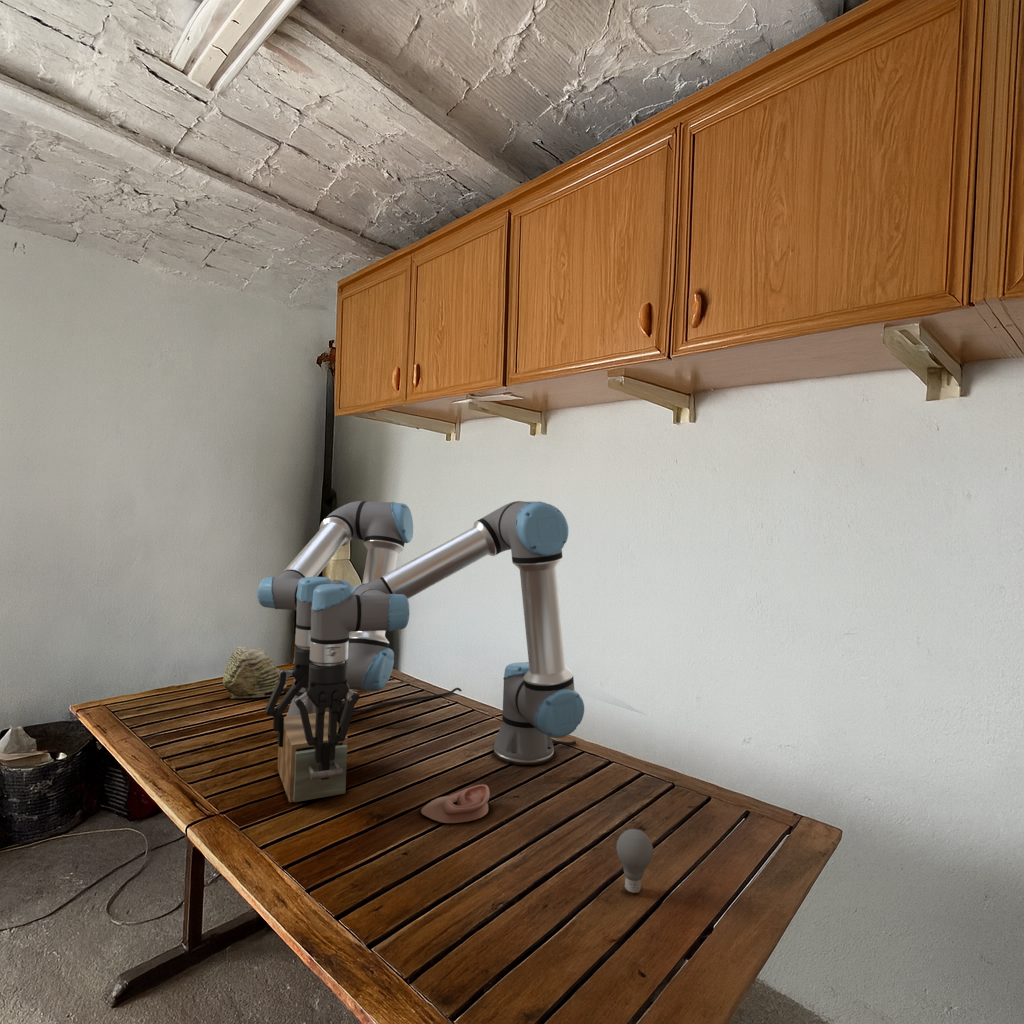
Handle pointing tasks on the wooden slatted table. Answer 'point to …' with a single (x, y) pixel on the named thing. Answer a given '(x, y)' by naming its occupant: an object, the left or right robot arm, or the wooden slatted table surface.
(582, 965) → the wooden slatted table surface
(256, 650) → the fossil
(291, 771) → the cabinet
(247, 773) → the wooden slatted table surface
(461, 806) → the anatomical model
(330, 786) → the drawer
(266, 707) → the left robot arm
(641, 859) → the light bulb
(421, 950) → the wooden slatted table surface
